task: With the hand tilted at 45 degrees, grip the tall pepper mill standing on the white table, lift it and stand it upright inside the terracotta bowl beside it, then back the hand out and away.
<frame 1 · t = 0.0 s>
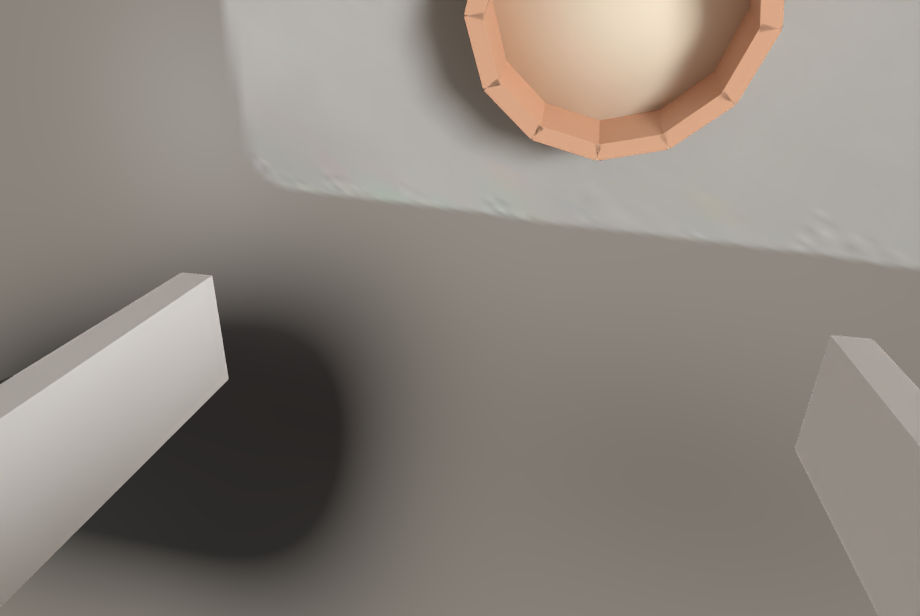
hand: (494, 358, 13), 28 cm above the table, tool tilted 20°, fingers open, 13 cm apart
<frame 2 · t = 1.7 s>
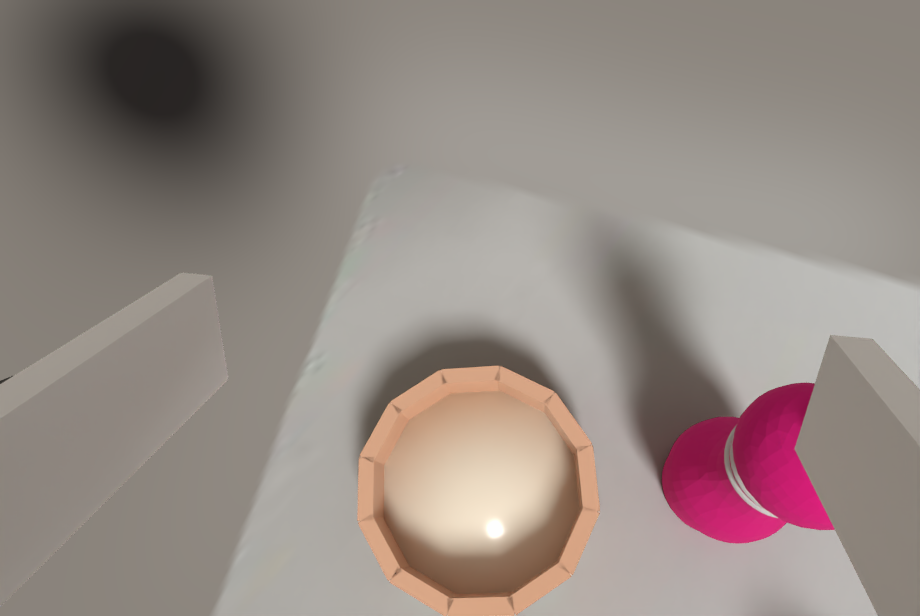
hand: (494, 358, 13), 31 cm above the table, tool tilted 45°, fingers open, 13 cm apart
terracotta bowl: (480, 488, 42), on the table
pepper mill: (709, 484, 41), on the table
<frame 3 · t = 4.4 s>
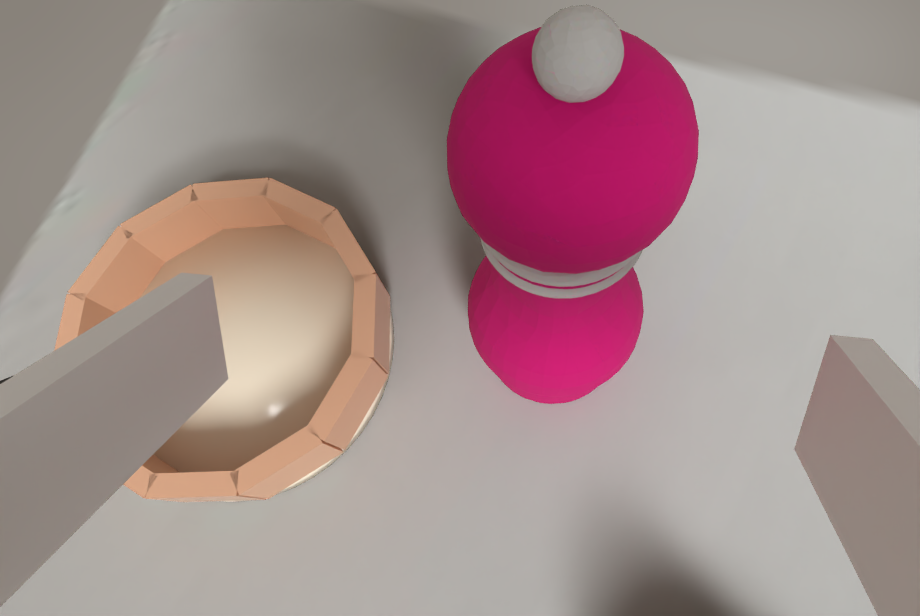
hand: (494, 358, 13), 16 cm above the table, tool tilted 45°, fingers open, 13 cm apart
terracotta bowl: (250, 348, 31), on the table
pepper mill: (550, 342, 30), on the table
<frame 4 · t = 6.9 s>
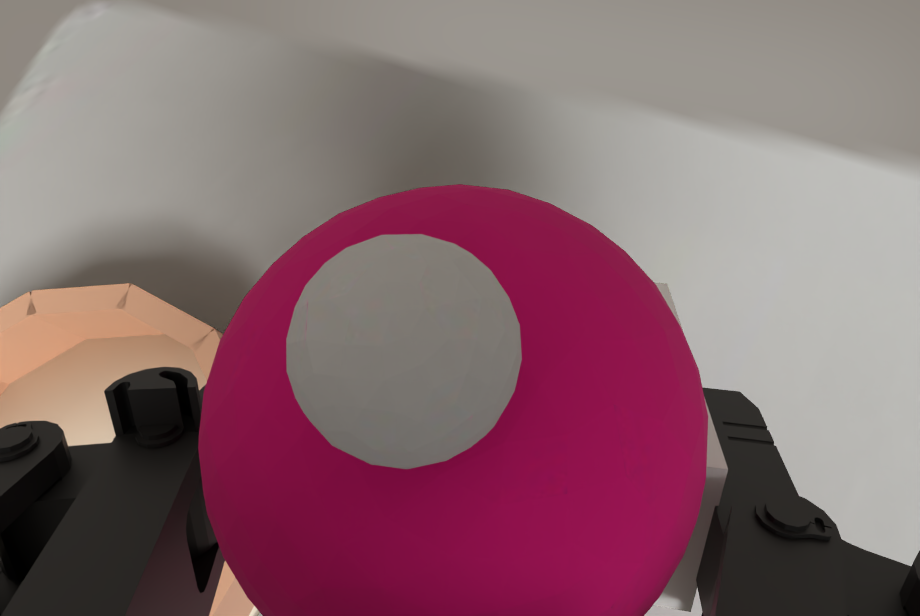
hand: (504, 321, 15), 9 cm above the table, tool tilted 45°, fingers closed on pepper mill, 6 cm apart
terracotta bowl: (113, 501, 24), on the table
pepper mill: (502, 498, 23), on the table, touching gripper
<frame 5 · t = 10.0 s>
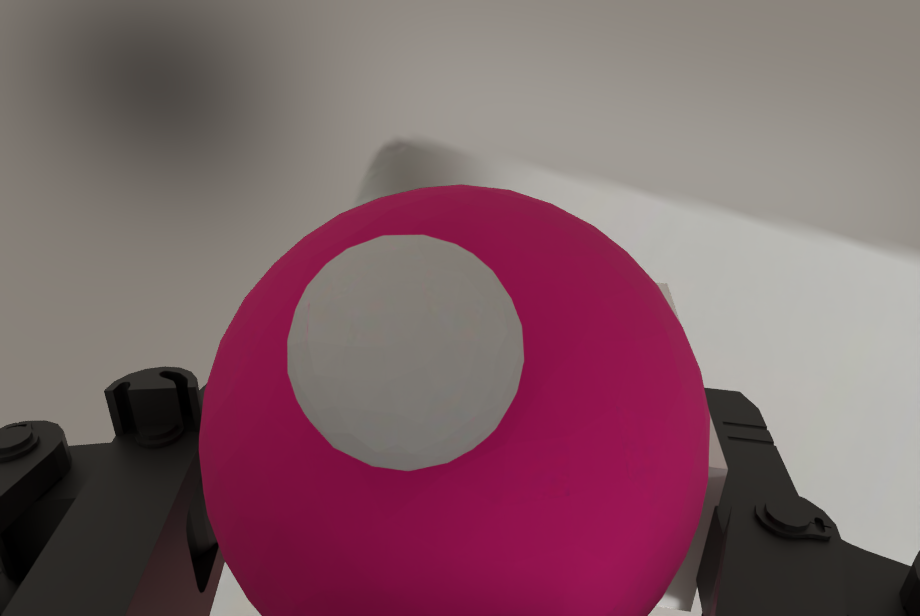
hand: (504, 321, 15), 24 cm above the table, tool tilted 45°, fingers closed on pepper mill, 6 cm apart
pepper mill: (503, 499, 23), point 14 cm above the table, touching gripper
when the fingers open (12 cm above the table, at t = 13.3 s): pepper mill drops 1 cm, resting on terracotta bowl.
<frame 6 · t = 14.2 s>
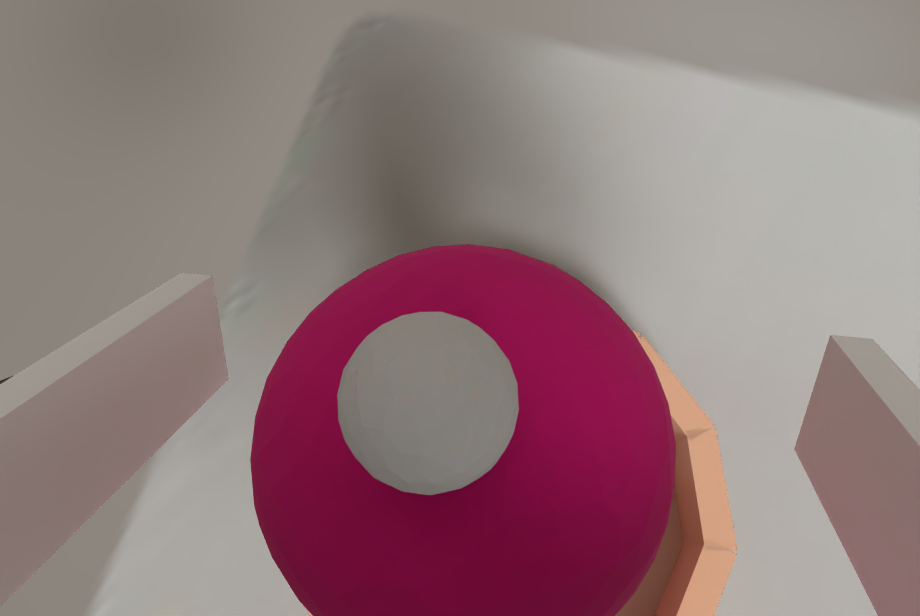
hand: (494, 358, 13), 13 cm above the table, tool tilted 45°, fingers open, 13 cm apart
terracotta bowl: (505, 502, 25), on the table
pepper mill: (504, 502, 24), point 1 cm above the table, touching terracotta bowl
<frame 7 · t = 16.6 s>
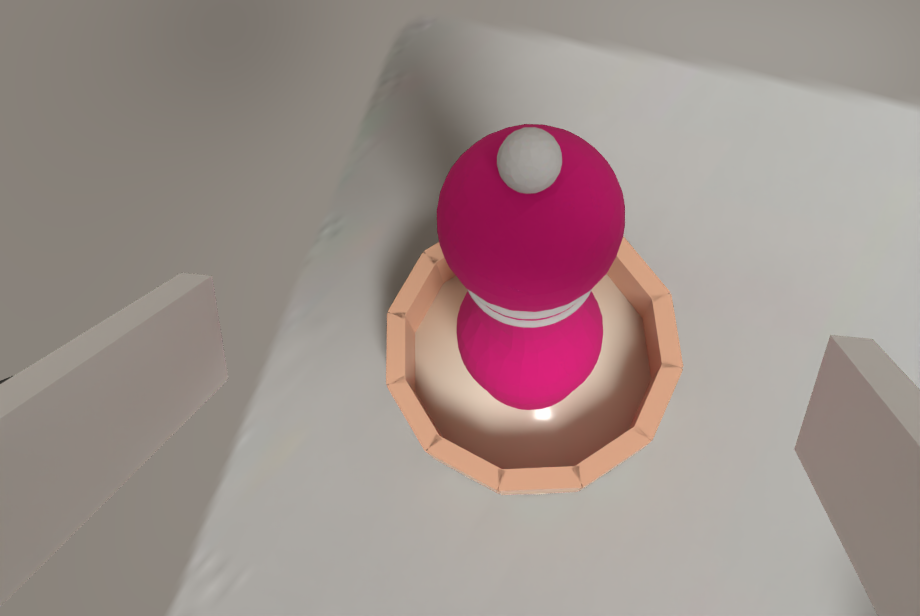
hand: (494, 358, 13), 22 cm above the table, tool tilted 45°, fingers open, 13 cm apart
terracotta bowl: (529, 359, 35), on the table
pepper mill: (528, 356, 35), point 1 cm above the table, touching terracotta bowl
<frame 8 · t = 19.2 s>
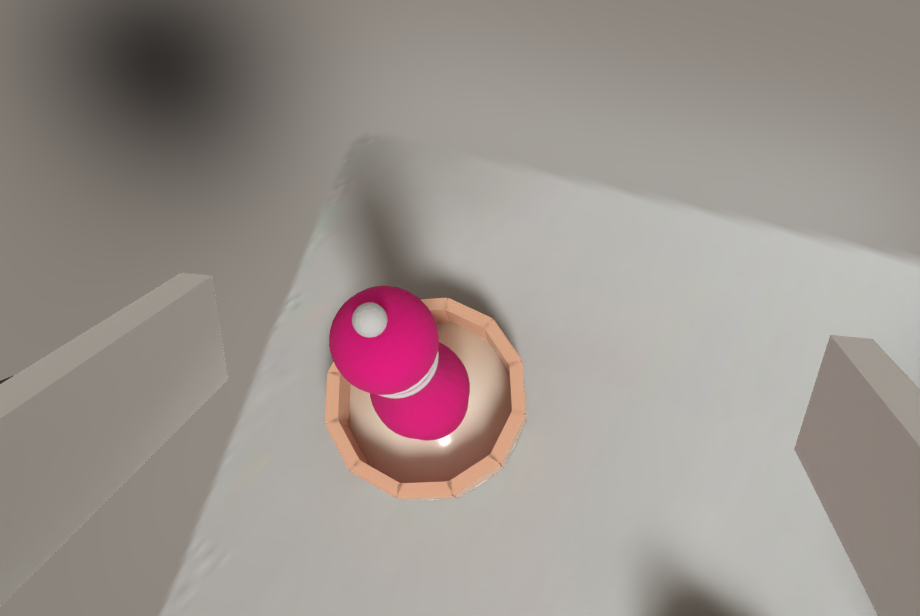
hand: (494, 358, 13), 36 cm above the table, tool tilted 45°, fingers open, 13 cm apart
terracotta bowl: (431, 403, 50), on the table
pepper mill: (430, 401, 49), point 1 cm above the table, touching terracotta bowl
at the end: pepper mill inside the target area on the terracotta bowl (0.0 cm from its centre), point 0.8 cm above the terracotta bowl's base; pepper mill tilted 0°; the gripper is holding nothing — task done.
